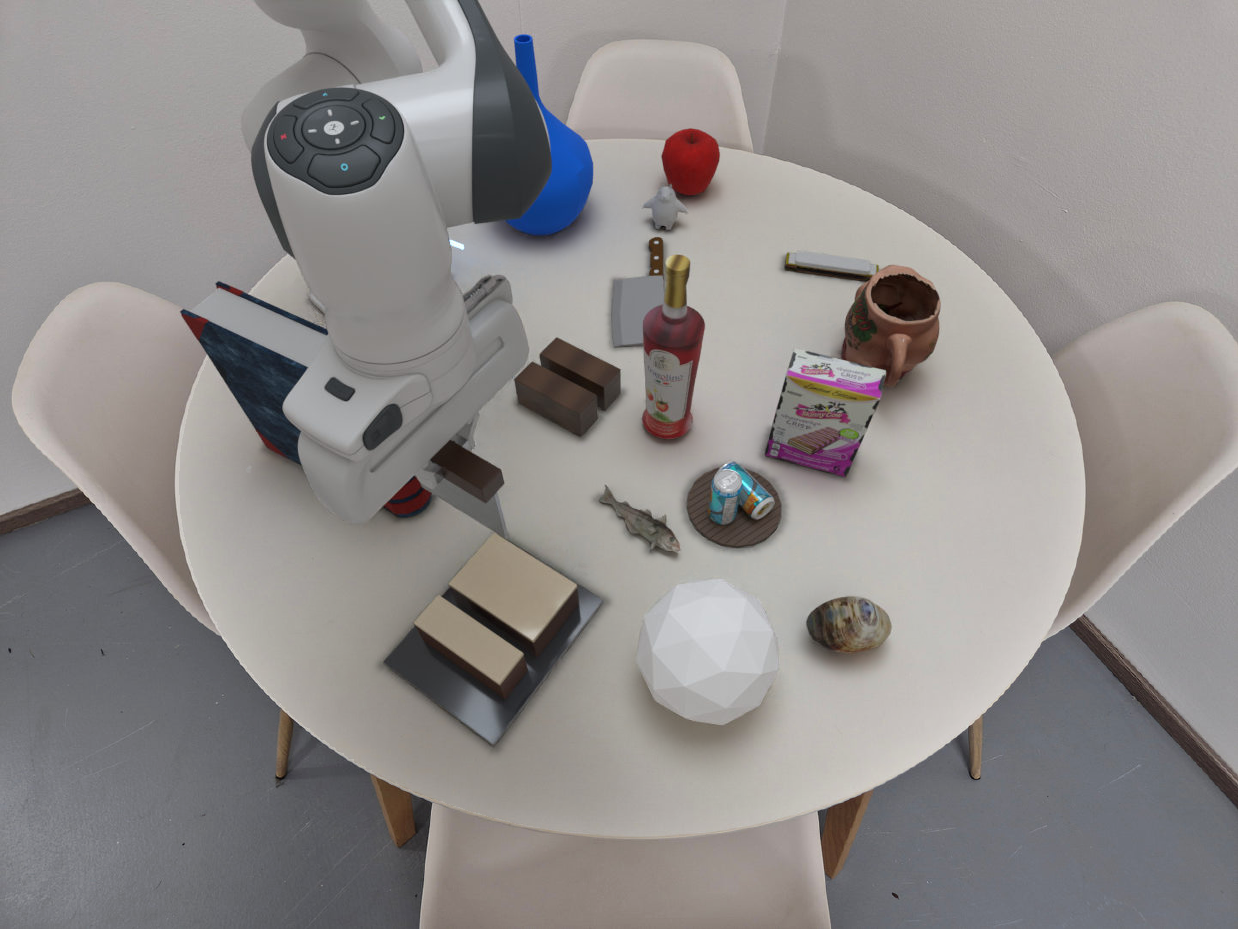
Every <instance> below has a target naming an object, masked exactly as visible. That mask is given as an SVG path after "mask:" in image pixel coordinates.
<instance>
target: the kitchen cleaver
mask: <svg viewBox="0 0 1238 929" xmlns="http://www.w3.org/2000/svg"><path fill="white" fill-rule="evenodd" d="M648 249H649V250H650V256H649V259H650V263H649V264H650V267H651V268H650V269H649V272H648V275H644V276H636V277H629V278H622V279H614V280H613V281H614V282H613V291H612V304H611V330H612V333H611V334H612V344H613V347H614V348H621V347H643V320H644V317H645V316H646V314H647V313H648V312H649V311H650V310H651V309H653V308H655V307H657V306H659V305H663V302H664V296H665V290H664V239H663V238H662V237H661V236H654V237H652V238H651V239H650V240H649V241H648Z"/></svg>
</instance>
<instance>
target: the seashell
mask: <svg viewBox="0 0 1238 929" xmlns="http://www.w3.org/2000/svg"><path fill="white" fill-rule="evenodd" d="M805 622H806V624H805V625H806V628H807V631H808V633H809V636H810V637H811V639H812V640H813V641H814V642H815V643H816V644H818V645H819V646H821V647H822V648H825V649H826V650H829V651H833V652H837V653H846V654H854V653H861V652H866V651H868V650H871V649H874V648H876V647H878V646H880V645H881V644H883V643H884V642H885V641H886V640H887V639H888V638H889V637H890V635H891V632H892V628H893V626H892V625H893V624H892V621H891V619H890V616H889V614H888V613H887V612H886V610H884V609H883V608H882V607H881V606H879V605H878V604H876V603H875V602H874V601H872V600H869V599H868V598H865V597H861V596H855V595H850V596H849V595H847V596H840V597H835V598H833V599H830V600H827V601H825V602H823V603H822V604H820V605H818V606H816V607H815V608H814V609H813V610H811V611H810V612H809V614H808V615H807V618H806V621H805Z"/></svg>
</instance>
